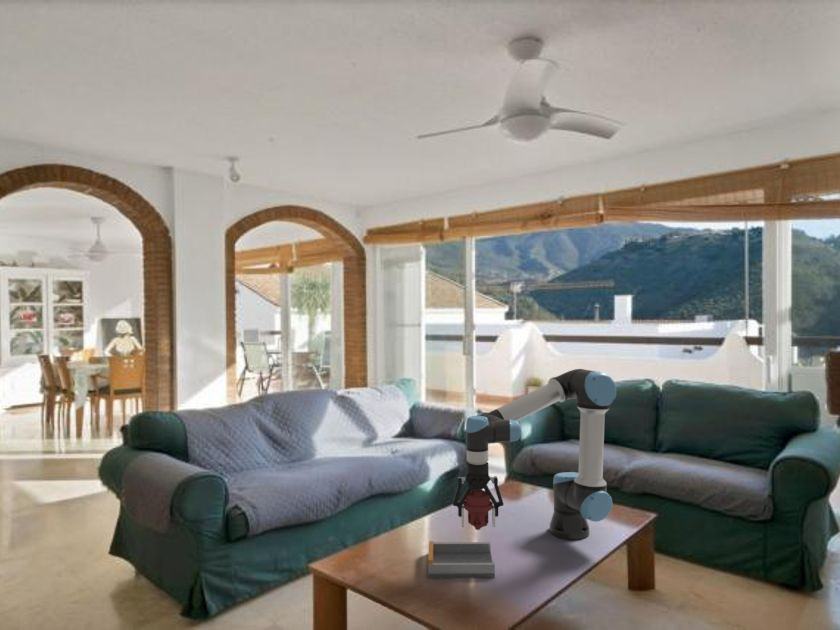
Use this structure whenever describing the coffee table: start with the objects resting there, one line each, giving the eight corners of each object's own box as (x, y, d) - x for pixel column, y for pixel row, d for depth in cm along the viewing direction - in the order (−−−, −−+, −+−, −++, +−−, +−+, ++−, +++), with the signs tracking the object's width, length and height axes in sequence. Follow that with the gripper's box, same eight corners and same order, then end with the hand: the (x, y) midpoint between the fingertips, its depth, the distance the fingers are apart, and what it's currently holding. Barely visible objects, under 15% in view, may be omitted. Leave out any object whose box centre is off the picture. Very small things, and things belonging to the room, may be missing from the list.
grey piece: (490, 552, 207) (490, 538, 206) (495, 578, 188) (494, 562, 188) (429, 553, 208) (429, 538, 207) (428, 578, 189) (428, 562, 188)
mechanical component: (493, 521, 201) (491, 533, 191) (465, 520, 203) (462, 531, 193) (493, 487, 201) (491, 496, 191) (465, 485, 203) (461, 495, 193)
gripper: (509, 458, 200) (509, 521, 200) (444, 458, 201) (445, 521, 201) (511, 464, 192) (512, 529, 193) (444, 464, 193) (445, 529, 194)
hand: (478, 525), depth 197 cm, fingers closed on mechanical component, 10 cm apart
